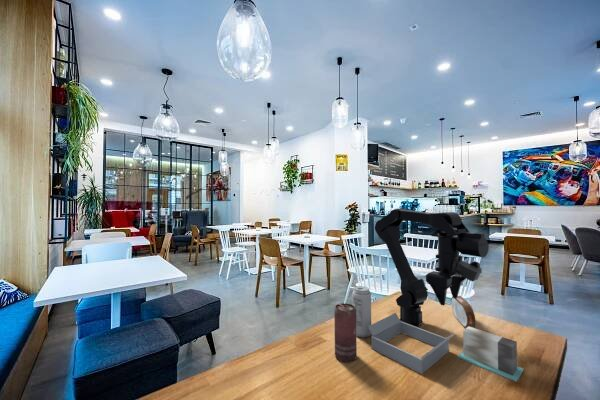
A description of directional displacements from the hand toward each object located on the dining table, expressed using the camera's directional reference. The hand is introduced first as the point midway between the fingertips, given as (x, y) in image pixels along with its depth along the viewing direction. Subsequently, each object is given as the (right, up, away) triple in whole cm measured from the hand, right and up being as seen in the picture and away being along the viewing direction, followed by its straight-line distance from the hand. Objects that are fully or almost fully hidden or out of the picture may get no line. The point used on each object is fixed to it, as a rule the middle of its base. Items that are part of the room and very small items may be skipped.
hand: (449, 301), depth 84 cm
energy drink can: (-26, -13, +4) cm, 30 cm away
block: (+4, -12, -13) cm, 17 cm away
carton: (-15, -12, -6) cm, 20 cm away
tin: (+11, -12, +12) cm, 20 cm away
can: (-34, -12, -8) cm, 37 cm away
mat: (+4, -12, -13) cm, 18 cm away
